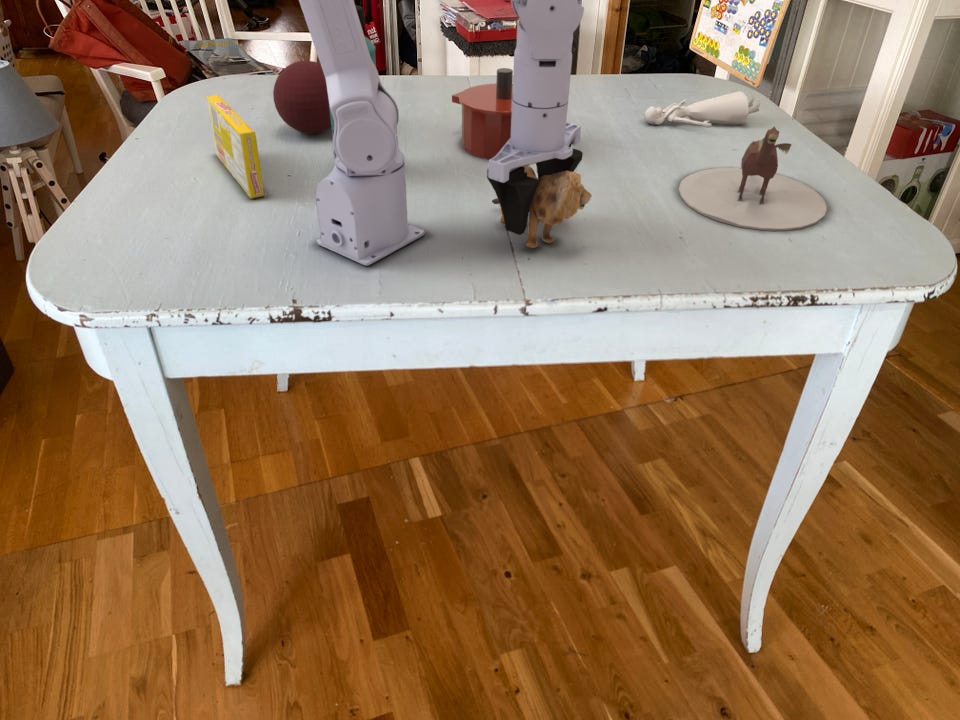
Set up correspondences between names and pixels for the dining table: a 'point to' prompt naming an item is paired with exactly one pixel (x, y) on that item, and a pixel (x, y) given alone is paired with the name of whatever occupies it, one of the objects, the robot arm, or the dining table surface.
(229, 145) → the candy box
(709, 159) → the dining table surface
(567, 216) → the lion figurine
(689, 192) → the brown figure on disc
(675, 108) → the woman figurine
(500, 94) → the pot lid
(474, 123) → the pot
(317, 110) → the decorative ball
